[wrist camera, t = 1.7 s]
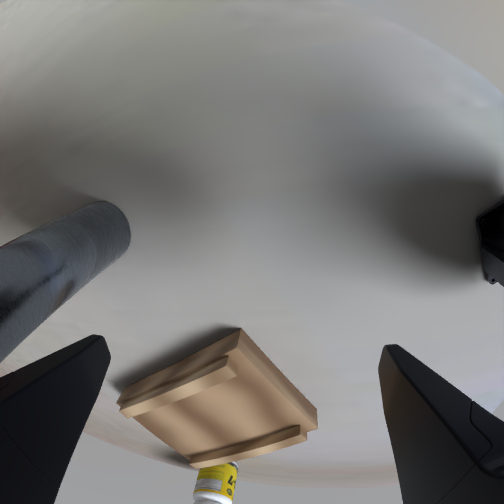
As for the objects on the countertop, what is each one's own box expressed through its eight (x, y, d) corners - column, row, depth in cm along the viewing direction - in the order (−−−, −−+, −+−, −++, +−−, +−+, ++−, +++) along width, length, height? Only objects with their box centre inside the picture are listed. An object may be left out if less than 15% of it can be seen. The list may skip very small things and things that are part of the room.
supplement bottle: (239, 472, 33) (230, 523, 25) (204, 468, 33) (192, 517, 25) (237, 456, 31) (227, 512, 23) (200, 451, 31) (185, 506, 24)
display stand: (241, 328, 24) (234, 357, 20) (316, 409, 26) (318, 438, 23) (125, 387, 28) (111, 410, 25) (198, 447, 31) (192, 471, 28)
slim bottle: (109, 189, 21) (-66, 269, 6) (141, 242, 22) (-5, 372, 8) (73, 221, 22) (-75, 308, 8) (102, 268, 23) (-26, 386, 9)
